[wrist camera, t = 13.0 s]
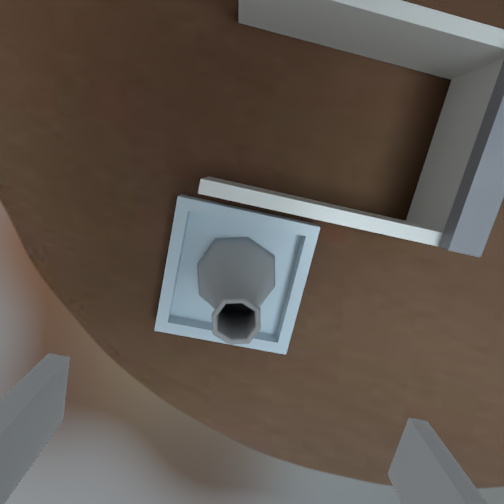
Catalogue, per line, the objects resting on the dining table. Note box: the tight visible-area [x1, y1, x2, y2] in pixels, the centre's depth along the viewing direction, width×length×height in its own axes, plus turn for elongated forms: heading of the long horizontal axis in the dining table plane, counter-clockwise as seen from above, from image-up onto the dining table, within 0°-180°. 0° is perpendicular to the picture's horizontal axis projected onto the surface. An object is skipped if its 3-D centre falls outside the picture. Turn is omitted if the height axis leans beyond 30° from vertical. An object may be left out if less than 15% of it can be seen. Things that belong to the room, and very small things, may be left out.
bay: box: [198, 0, 504, 257], centre depth 25 cm, size 14×20×8 cm
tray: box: [154, 194, 320, 355], centre depth 31 cm, size 12×12×2 cm
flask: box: [197, 237, 275, 344], centre depth 27 cm, size 7×7×10 cm
